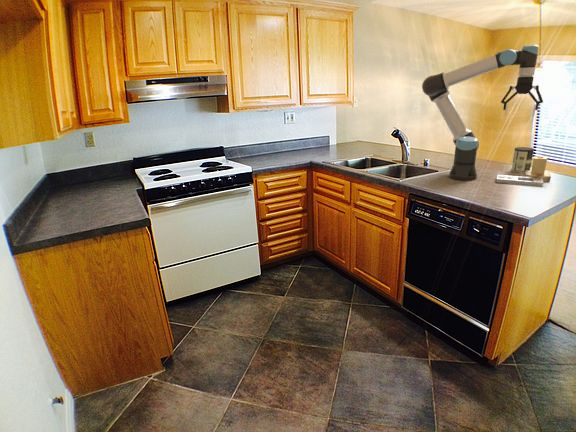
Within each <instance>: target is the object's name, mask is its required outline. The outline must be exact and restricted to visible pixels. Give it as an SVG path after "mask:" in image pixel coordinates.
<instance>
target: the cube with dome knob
mask: <svg viewBox="0 0 576 432" xmlns="http://www.w3.org/2000/svg"><path fill="white" fill-rule="evenodd" d="M547 161H548V157H547V156H536V155H535V156H534V155H533V159H532V164H531V169H530V171H531V174H539V175H544V172H546V166H547Z"/></svg>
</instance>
